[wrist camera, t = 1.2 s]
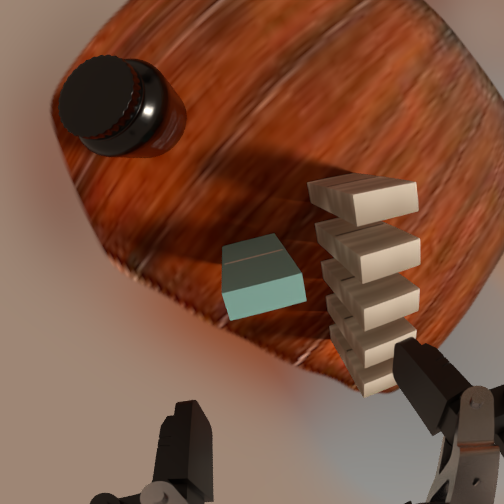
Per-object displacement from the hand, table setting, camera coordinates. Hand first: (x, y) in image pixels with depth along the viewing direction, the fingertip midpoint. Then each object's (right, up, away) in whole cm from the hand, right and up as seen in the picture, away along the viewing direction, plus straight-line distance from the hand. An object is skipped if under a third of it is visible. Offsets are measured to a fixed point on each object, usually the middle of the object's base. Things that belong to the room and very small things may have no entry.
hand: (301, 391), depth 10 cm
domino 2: (+6, +11, +16) cm, 21 cm away
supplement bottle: (-11, +17, +13) cm, 24 cm away
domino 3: (+7, +8, +17) cm, 20 cm away
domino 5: (+9, 0, +20) cm, 22 cm away
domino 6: (+9, -3, +21) cm, 23 cm away
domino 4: (+8, +4, +19) cm, 20 cm away
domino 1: (-2, +6, +17) cm, 18 cm away
